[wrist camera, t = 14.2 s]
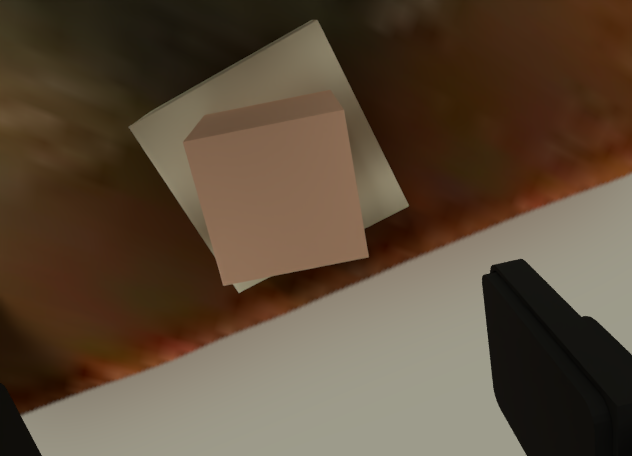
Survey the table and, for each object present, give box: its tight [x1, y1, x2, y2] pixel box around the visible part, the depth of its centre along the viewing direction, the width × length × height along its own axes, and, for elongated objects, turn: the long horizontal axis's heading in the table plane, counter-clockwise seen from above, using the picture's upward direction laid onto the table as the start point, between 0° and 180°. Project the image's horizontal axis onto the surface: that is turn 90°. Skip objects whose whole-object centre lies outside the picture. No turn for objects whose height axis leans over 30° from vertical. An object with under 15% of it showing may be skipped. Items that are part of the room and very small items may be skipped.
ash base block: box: [129, 20, 409, 293], centre depth 29 cm, size 10×10×5 cm
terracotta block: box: [183, 90, 369, 286], centre depth 24 cm, size 6×6×6 cm
